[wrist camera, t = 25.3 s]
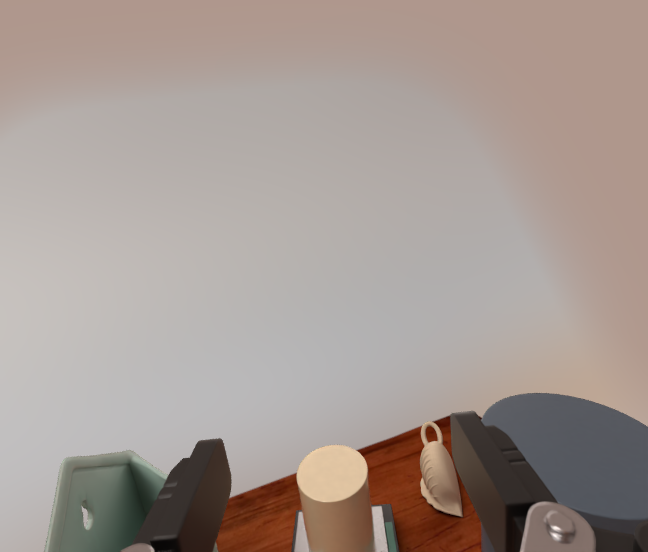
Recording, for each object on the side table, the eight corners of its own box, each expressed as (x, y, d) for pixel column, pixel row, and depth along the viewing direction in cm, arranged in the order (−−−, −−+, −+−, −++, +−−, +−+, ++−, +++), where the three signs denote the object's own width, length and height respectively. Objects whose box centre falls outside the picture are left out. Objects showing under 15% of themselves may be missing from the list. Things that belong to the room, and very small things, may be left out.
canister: (373, 519, 34) (365, 442, 32) (380, 588, 28) (370, 499, 26) (313, 522, 35) (300, 446, 32) (307, 591, 29) (291, 504, 26)
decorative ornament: (421, 514, 37) (419, 473, 36) (420, 455, 45) (418, 419, 43) (462, 519, 36) (461, 477, 35) (453, 458, 44) (452, 421, 42)
